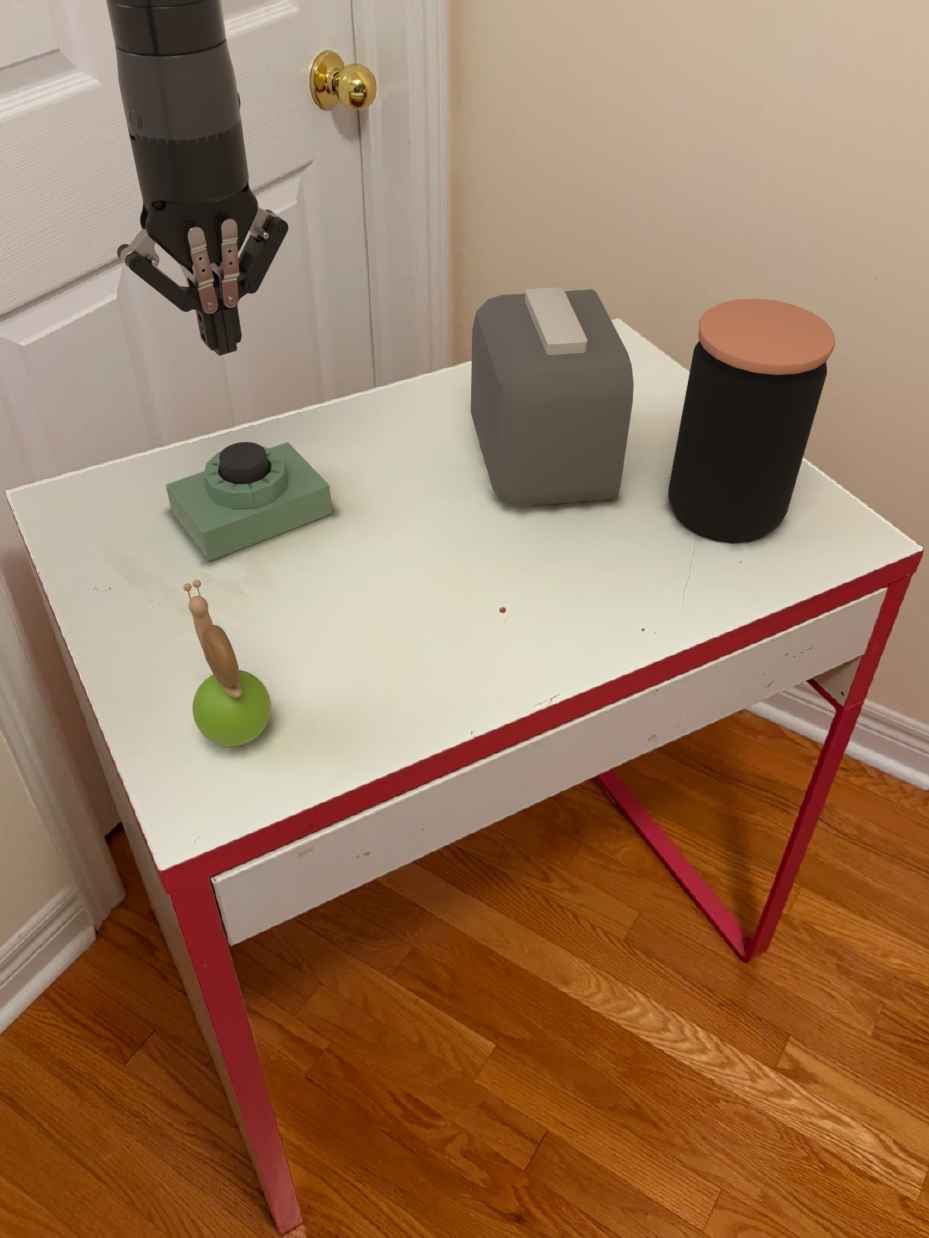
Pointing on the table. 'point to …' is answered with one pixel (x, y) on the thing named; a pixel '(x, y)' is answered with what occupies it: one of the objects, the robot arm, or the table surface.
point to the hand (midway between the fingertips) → (223, 349)
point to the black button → (243, 463)
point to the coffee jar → (747, 417)
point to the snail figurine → (225, 686)
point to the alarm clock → (550, 396)
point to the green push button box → (249, 503)
